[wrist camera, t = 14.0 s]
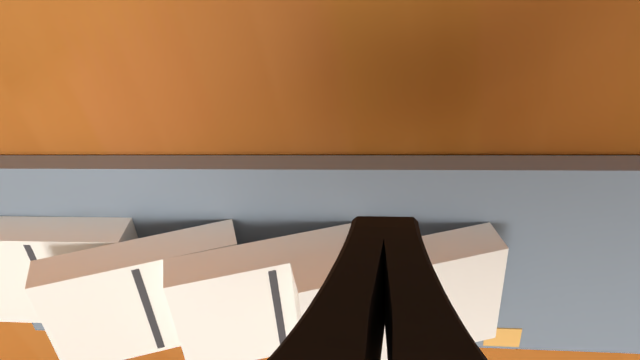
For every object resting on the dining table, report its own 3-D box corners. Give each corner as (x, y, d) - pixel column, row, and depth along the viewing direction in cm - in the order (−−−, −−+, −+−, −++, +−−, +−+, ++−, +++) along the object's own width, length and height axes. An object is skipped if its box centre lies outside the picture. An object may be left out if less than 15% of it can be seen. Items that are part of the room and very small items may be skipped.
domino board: (721, 155, 22) (734, 172, 21) (654, 336, 28) (661, 355, 27) (-33, 155, 26) (-48, 169, 25) (44, 315, 32) (34, 331, 31)
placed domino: (509, 248, 23) (298, 293, 22) (495, 337, 26) (309, 381, 24) (489, 221, 24) (290, 262, 23) (478, 309, 27) (301, 349, 26)
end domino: (117, 242, 25) (-65, 240, 26) (146, 326, 27) (-18, 321, 28) (131, 217, 26) (-42, 215, 27) (158, 299, 29) (0, 295, 30)
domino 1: (237, 243, 24) (24, 289, 23) (253, 329, 27) (66, 373, 26) (231, 218, 25) (30, 260, 24) (248, 302, 28) (69, 344, 27)
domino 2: (374, 246, 23) (163, 288, 22) (376, 333, 26) (189, 374, 25) (363, 220, 25) (163, 258, 24) (366, 306, 28) (188, 343, 27)
